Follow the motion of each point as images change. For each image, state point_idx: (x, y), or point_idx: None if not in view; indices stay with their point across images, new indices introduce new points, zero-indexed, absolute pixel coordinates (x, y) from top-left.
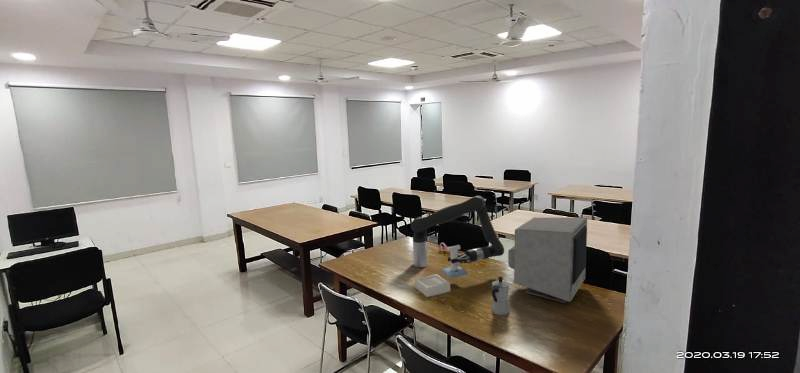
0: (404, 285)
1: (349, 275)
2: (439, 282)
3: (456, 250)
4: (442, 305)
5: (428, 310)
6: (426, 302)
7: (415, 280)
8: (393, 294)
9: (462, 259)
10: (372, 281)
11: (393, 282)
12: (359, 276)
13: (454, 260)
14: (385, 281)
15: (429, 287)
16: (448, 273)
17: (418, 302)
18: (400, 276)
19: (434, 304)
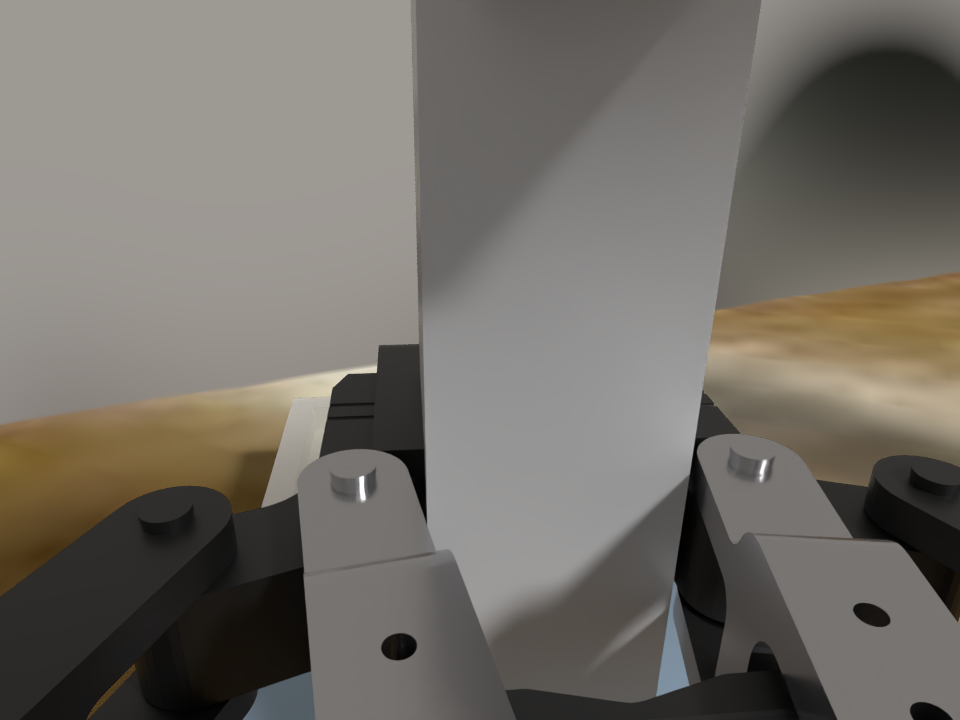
0: None
1: (912, 282)
2: None
3: (415, 3)
4: (9, 533)
5: (64, 434)
6: (201, 458)
7: None
8: None
9: (48, 568)
10: (792, 326)
11: (757, 392)
12: (897, 303)
13: (332, 402)
14: (787, 366)
15: (288, 416)
16: None
17: (254, 422)
18: (932, 451)
19: (103, 490)
